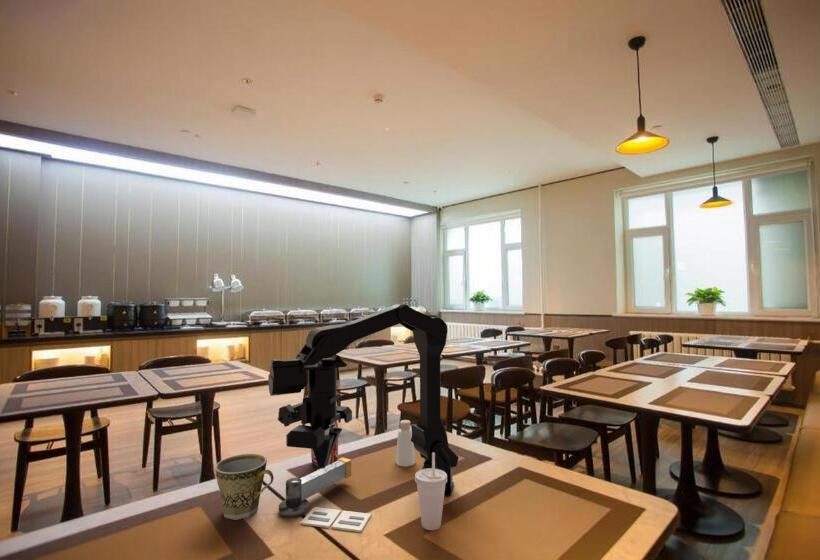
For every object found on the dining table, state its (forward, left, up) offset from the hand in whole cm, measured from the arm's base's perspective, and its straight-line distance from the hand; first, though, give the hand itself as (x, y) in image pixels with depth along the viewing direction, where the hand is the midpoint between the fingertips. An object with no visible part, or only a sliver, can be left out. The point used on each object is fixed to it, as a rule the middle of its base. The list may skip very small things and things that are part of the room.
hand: (322, 467), depth 84 cm
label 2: (-6, 0, -10) cm, 12 cm away
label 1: (0, 0, -10) cm, 10 cm away
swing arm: (+4, -8, -9) cm, 13 cm away
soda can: (+11, -25, -10) cm, 30 cm away
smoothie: (-22, -2, -10) cm, 24 cm away
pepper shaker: (-10, -30, -10) cm, 34 cm away
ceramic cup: (+16, +2, -10) cm, 19 cm away
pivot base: (+7, -1, -10) cm, 12 cm away
